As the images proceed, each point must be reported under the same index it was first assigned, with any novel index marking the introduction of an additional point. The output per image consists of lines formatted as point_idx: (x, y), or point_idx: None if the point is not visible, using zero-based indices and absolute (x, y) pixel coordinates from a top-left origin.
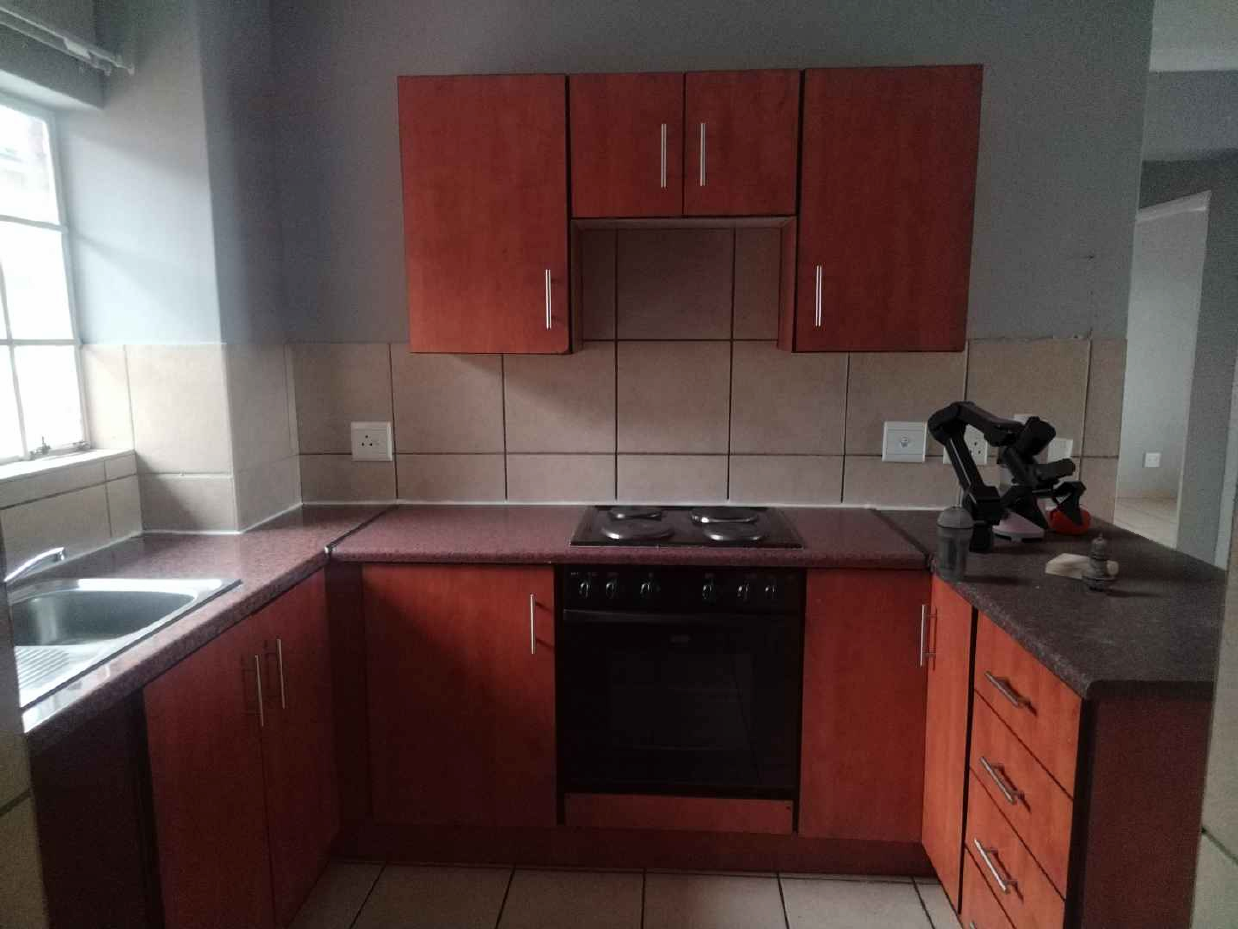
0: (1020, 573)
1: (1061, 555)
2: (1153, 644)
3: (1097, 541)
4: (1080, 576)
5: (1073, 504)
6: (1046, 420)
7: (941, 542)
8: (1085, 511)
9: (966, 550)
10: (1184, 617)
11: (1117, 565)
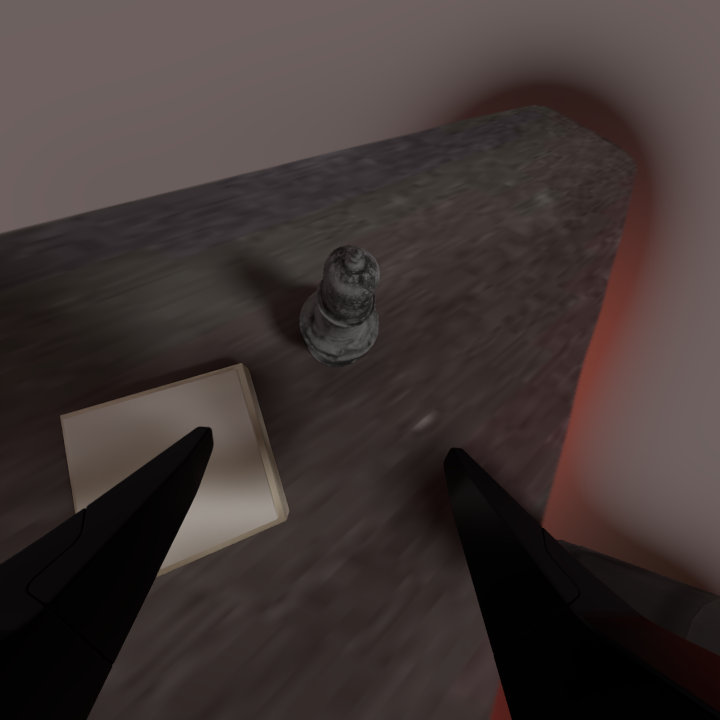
0: (361, 534)
1: None
2: (495, 164)
3: (377, 266)
4: (262, 420)
5: (70, 589)
6: None
7: None
8: None
9: (646, 576)
10: (336, 182)
11: (81, 410)
